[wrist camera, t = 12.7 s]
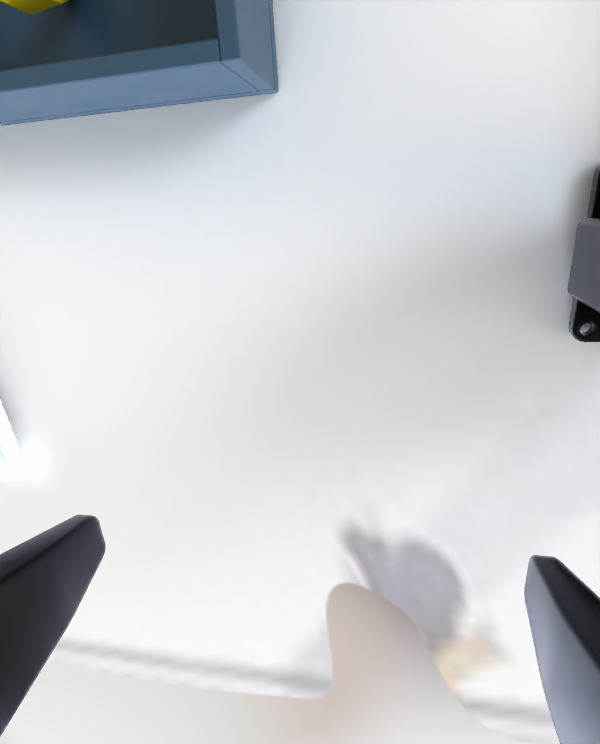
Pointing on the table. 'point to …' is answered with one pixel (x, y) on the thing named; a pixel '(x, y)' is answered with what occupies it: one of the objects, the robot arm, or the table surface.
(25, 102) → the organiser tray
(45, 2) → the watch
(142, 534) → the table surface
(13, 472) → the touchpad
